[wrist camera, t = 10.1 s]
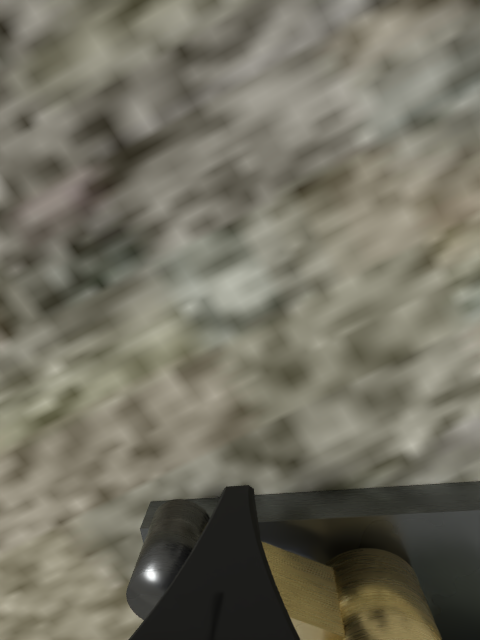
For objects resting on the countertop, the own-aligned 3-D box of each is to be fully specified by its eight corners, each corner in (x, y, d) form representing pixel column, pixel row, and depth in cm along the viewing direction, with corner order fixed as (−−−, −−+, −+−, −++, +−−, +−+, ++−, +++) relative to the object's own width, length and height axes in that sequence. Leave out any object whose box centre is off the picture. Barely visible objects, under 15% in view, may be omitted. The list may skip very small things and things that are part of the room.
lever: (437, 569, 12) (491, 684, 9) (388, 638, 13) (423, 762, 10) (171, 470, 12) (140, 558, 9) (140, 548, 13) (102, 650, 10)
